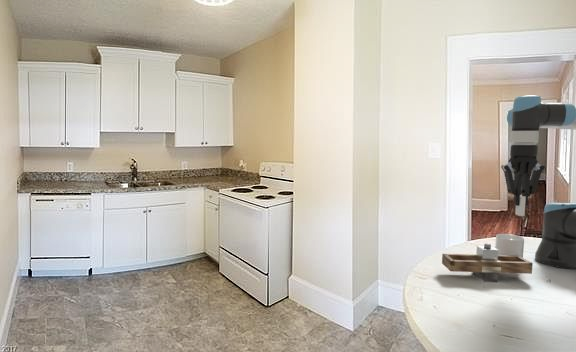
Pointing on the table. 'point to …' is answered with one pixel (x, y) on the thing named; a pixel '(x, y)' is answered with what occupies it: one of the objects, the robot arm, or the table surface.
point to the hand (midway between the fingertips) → (519, 215)
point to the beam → (486, 265)
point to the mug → (509, 244)
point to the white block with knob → (486, 253)
